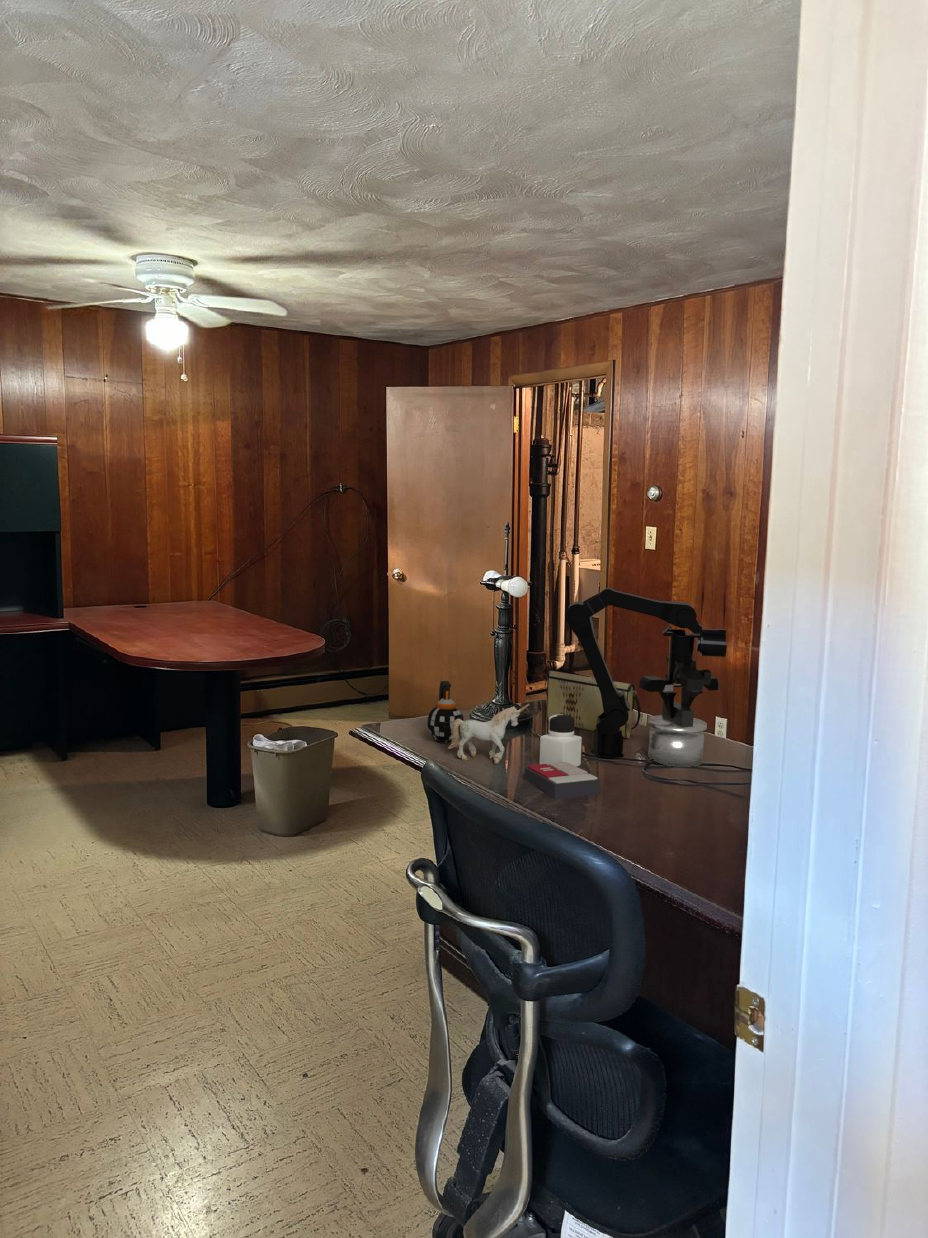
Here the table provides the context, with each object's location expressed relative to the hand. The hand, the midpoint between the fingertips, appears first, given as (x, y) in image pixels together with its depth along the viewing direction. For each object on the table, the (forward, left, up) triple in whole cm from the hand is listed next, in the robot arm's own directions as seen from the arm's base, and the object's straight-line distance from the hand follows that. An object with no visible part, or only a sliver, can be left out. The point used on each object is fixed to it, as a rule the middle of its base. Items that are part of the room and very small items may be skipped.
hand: (677, 717), depth 217 cm
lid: (0, 0, -2) cm, 2 cm away
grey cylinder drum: (0, 0, -10) cm, 11 cm away
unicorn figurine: (-45, +9, -11) cm, 47 cm away
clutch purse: (-9, +32, -11) cm, 35 cm away
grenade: (-52, +26, -11) cm, 59 cm away
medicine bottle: (-30, 0, -11) cm, 32 cm away
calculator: (-35, -15, -11) cm, 40 cm away
